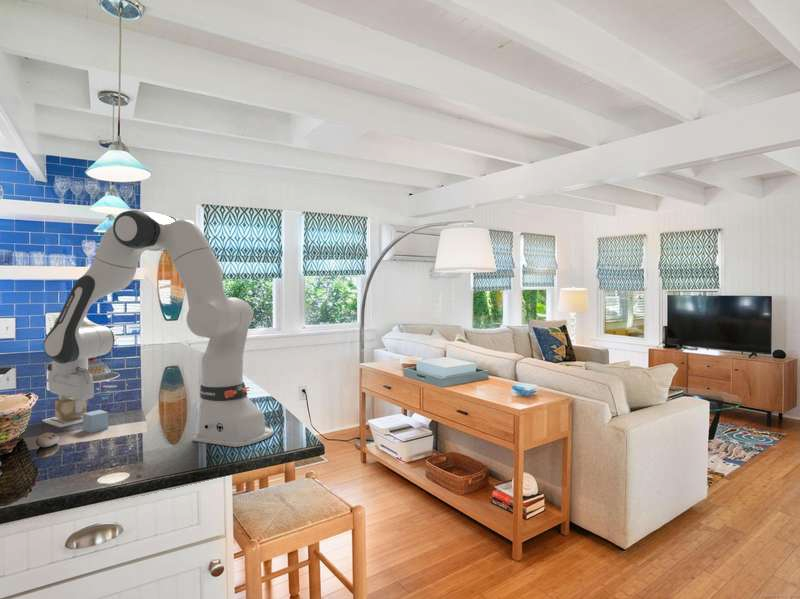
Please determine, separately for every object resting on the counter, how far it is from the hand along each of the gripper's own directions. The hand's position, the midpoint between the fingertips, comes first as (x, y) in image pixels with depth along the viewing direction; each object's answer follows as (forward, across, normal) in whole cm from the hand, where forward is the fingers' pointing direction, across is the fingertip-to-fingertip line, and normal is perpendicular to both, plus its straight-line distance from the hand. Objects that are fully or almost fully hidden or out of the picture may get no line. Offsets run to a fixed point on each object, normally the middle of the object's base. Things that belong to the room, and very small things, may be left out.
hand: (71, 410), depth 142 cm
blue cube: (+3, -16, +1) cm, 16 cm away
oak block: (+2, 0, 0) cm, 2 cm away
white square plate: (+3, 0, 0) cm, 3 cm away
